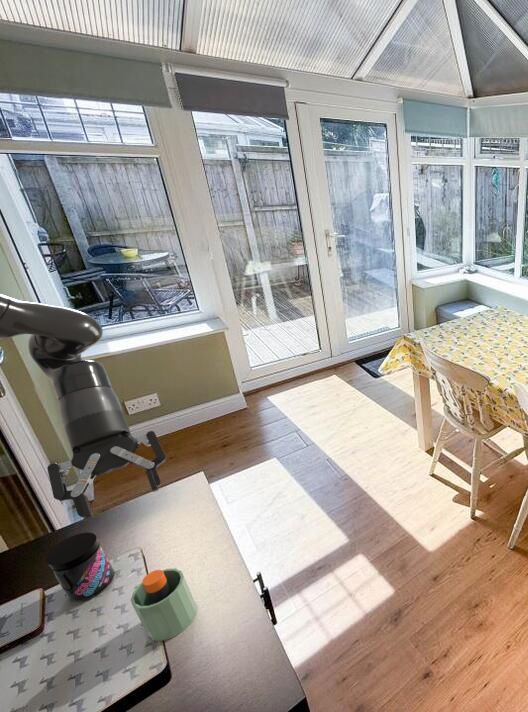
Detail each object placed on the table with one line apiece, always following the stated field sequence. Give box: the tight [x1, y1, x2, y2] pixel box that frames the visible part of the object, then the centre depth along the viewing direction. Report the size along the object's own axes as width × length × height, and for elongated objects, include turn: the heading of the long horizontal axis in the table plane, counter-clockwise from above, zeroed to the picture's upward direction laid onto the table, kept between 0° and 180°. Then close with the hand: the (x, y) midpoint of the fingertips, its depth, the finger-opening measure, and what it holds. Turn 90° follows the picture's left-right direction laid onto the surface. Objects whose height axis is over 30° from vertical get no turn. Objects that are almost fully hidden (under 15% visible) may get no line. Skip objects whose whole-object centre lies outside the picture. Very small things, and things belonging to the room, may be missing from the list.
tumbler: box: [130, 567, 198, 642], centre depth 72 cm, size 7×7×9 cm
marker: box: [141, 569, 172, 604], centre depth 72 cm, size 3×3×11 cm
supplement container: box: [44, 532, 116, 602], centre depth 77 cm, size 7×7×10 cm
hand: (124, 503), depth 70 cm, fingers open, 8 cm apart
